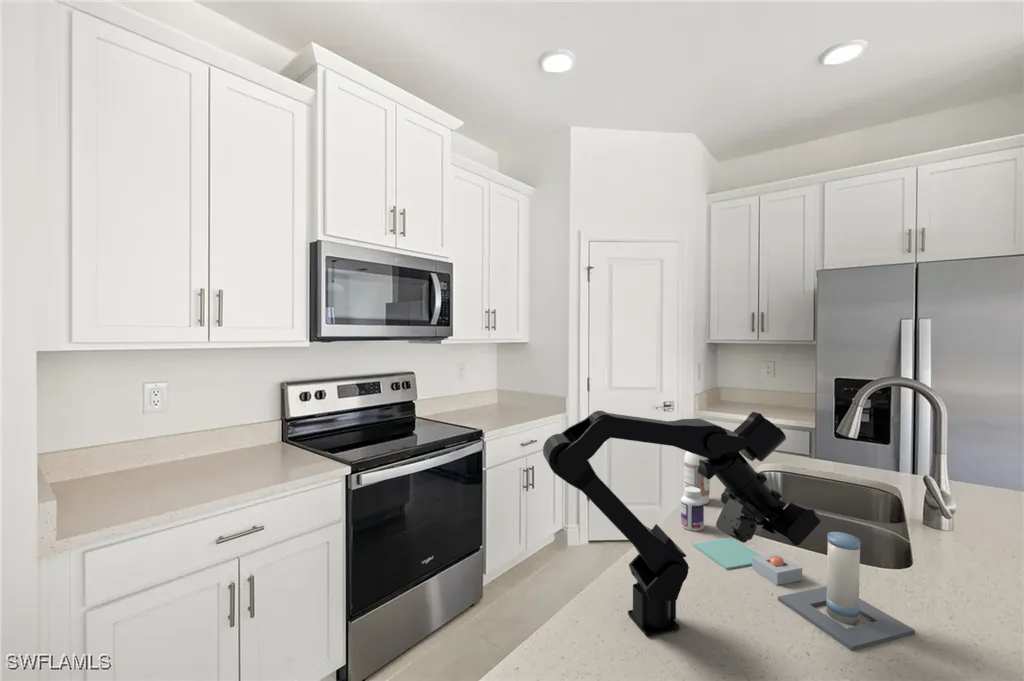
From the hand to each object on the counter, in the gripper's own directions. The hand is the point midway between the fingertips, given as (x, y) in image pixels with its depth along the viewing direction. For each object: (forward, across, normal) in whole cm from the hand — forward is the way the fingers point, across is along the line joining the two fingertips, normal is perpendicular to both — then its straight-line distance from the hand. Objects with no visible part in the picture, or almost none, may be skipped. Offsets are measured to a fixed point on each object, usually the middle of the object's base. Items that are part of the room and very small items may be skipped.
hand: (794, 542), depth 82 cm
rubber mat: (+10, -22, -6) cm, 25 cm away
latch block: (+13, -13, -3) cm, 19 cm away
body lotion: (+15, -52, +2) cm, 54 cm away
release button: (+13, -13, -3) cm, 18 cm away
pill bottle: (+9, -36, -7) cm, 38 cm away
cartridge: (+15, +1, -2) cm, 15 cm away
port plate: (+15, +1, -2) cm, 15 cm away
